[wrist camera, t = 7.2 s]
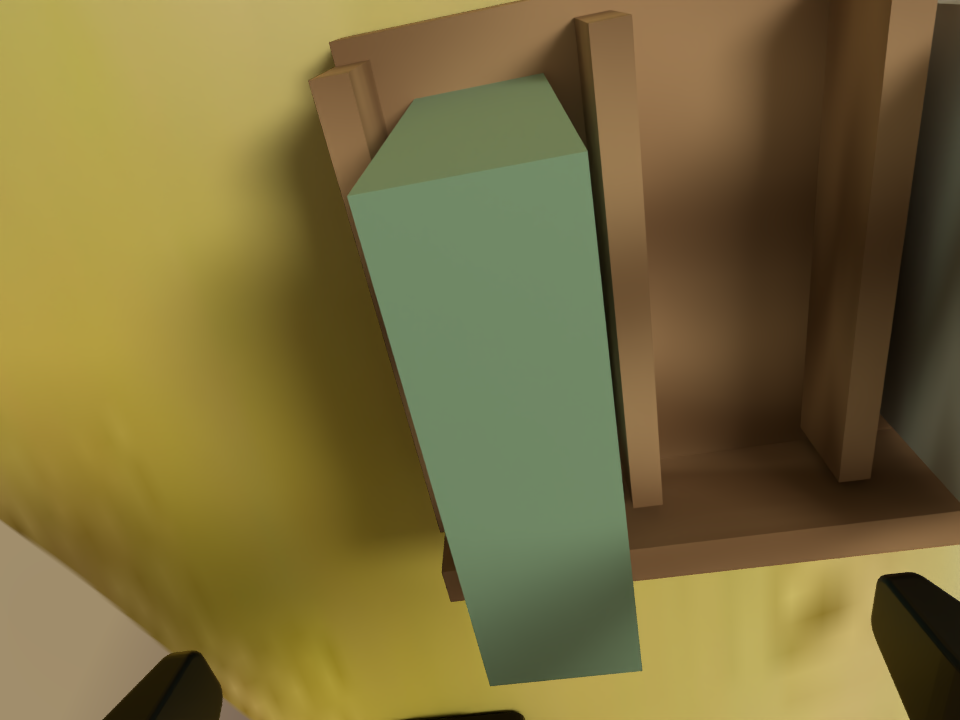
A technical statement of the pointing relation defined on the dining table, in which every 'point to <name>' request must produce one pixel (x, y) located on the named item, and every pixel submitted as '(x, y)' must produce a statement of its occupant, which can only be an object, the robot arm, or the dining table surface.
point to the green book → (508, 369)
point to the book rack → (738, 253)
